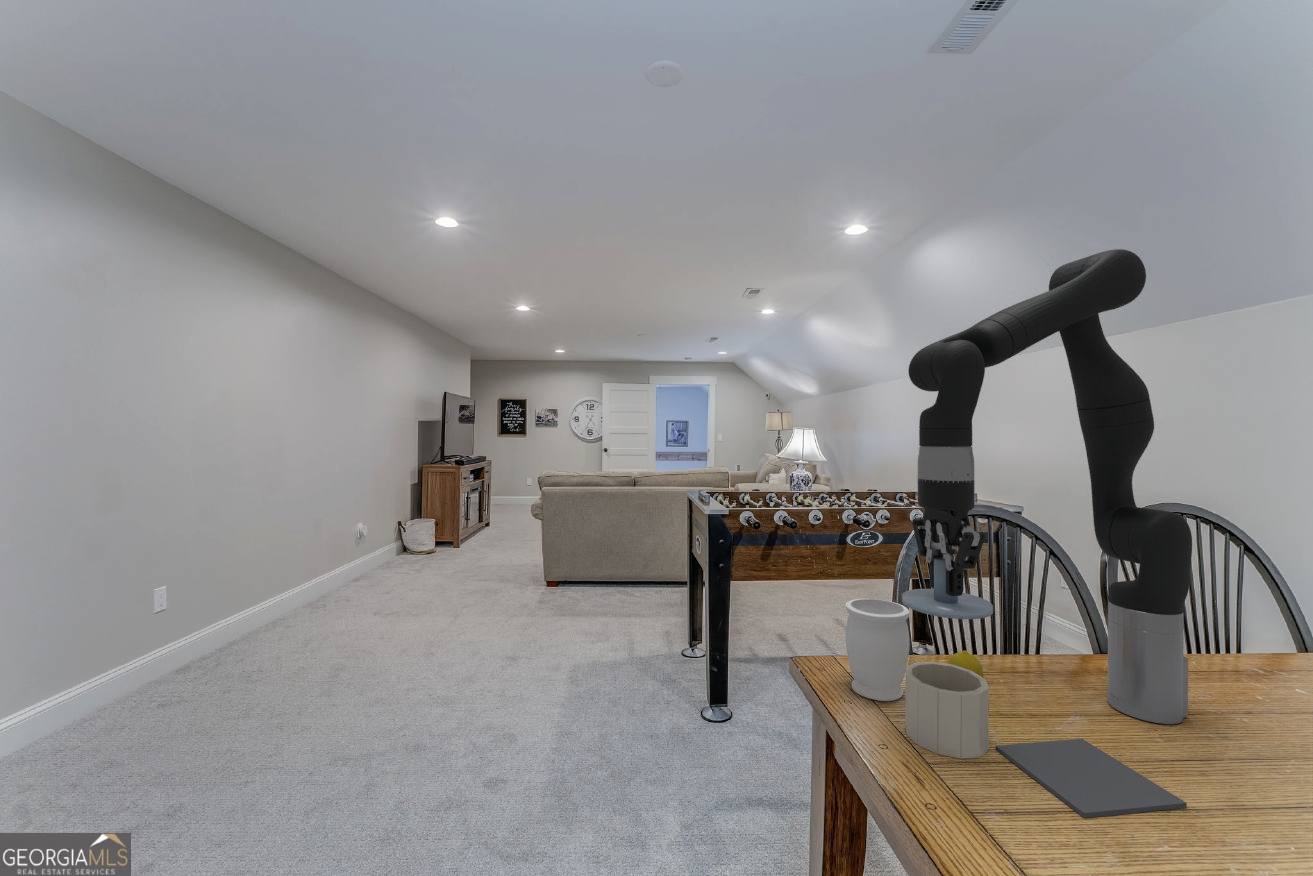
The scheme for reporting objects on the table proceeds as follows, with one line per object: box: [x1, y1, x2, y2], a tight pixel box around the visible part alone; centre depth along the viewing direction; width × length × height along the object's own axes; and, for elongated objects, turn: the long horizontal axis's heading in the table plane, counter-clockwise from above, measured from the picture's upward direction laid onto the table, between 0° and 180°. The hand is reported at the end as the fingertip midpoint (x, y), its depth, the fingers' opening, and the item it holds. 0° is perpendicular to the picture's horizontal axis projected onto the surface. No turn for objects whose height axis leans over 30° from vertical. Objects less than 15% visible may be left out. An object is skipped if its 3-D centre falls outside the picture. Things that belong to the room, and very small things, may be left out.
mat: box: [995, 738, 1188, 819], centre depth 72 cm, size 14×14×1 cm
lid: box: [901, 558, 994, 620], centre depth 81 cm, size 12×12×7 cm
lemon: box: [947, 650, 985, 679], centre depth 94 cm, size 6×6×8 cm
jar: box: [845, 598, 910, 702], centre depth 96 cm, size 11×10×15 cm
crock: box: [904, 661, 990, 760], centre depth 81 cm, size 11×11×9 cm
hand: (945, 590), depth 81 cm, fingers closed on lid, 3 cm apart
